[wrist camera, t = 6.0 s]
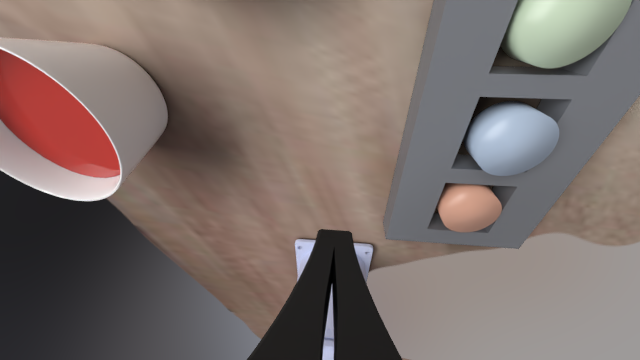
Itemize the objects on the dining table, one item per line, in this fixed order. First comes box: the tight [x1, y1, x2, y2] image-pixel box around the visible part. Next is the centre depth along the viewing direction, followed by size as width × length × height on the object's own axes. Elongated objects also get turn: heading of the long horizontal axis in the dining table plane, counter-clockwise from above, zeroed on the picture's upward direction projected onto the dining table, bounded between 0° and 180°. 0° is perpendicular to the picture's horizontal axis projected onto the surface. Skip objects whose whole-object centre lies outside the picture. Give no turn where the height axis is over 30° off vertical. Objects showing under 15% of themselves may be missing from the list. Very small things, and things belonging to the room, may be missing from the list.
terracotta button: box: [436, 183, 502, 232], centre depth 19 cm, size 4×4×2 cm
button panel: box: [383, 0, 640, 249], centre depth 15 cm, size 20×11×2 cm, turn 0°
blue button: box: [464, 101, 559, 176], centre depth 14 cm, size 4×4×2 cm
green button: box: [501, 0, 632, 68], centre depth 11 cm, size 4×4×2 cm
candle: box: [0, 37, 168, 201], centre depth 15 cm, size 9×9×6 cm
